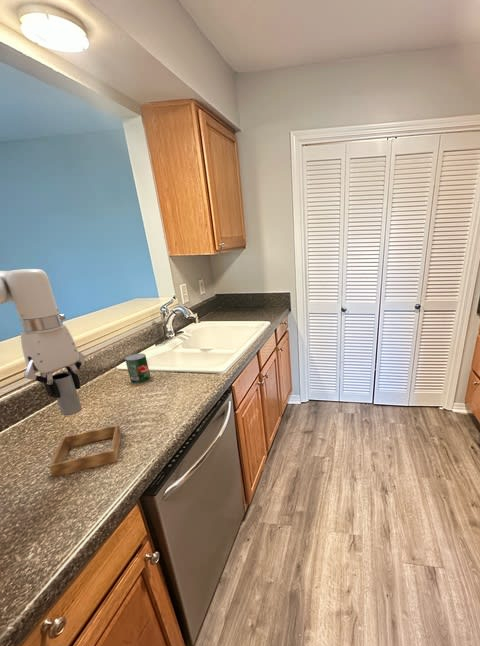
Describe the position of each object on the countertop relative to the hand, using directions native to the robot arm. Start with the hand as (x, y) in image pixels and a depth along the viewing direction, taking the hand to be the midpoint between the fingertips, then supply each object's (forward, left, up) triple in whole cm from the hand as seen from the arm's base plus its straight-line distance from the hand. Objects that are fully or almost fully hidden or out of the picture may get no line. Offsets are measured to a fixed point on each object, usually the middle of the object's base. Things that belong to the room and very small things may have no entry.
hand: (65, 391), depth 83 cm
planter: (0, 0, -6) cm, 6 cm away
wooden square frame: (0, +1, -20) cm, 20 cm away
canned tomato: (+12, +51, -20) cm, 56 cm away
